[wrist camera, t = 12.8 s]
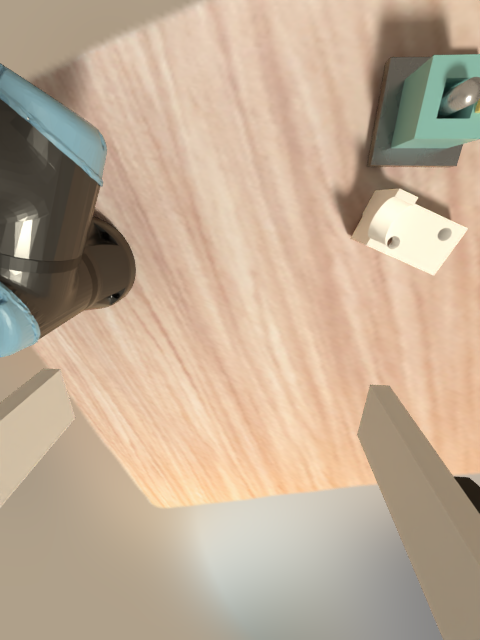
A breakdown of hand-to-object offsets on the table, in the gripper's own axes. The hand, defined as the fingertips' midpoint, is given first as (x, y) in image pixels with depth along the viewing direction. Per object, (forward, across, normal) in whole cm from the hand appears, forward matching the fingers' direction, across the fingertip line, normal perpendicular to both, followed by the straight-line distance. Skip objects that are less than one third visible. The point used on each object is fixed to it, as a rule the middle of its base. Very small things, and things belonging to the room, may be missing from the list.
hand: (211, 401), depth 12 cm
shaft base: (+35, +22, +18) cm, 45 cm away
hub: (+33, +22, +18) cm, 44 cm away
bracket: (+35, +23, +4) cm, 42 cm away
